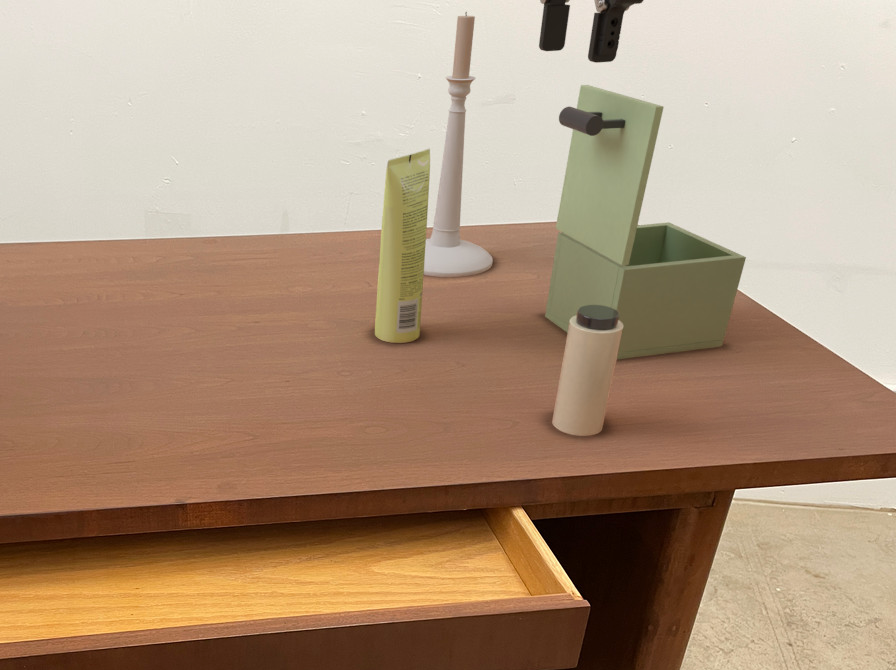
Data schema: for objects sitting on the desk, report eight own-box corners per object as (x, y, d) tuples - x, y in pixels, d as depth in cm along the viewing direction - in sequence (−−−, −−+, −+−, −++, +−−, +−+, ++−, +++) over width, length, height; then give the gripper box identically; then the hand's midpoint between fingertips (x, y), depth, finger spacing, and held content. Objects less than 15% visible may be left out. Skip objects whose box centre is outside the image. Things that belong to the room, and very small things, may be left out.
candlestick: (501, 277, 118) (535, 16, 102) (401, 278, 118) (419, 17, 103) (481, 246, 129) (509, 6, 113) (389, 247, 129) (404, 7, 113)
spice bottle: (585, 412, 86) (607, 300, 81) (611, 434, 83) (636, 318, 77) (542, 418, 86) (561, 305, 80) (567, 440, 82) (589, 323, 76)
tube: (371, 326, 105) (381, 147, 95) (416, 325, 105) (430, 146, 95) (376, 345, 100) (387, 160, 90) (423, 345, 100) (439, 159, 90)
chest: (650, 305, 109) (669, 222, 104) (721, 347, 98) (746, 257, 93) (544, 317, 106) (558, 232, 101) (605, 362, 96) (624, 269, 91)
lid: (587, 84, 93) (542, 86, 92) (664, 106, 83) (614, 108, 82) (561, 228, 101) (520, 231, 100) (628, 265, 90) (583, 268, 89)
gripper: (706, -178, 67) (660, 64, 76) (601, -163, 79) (572, 44, 88) (613, -177, 66) (577, 69, 75) (521, -162, 78) (499, 49, 86)
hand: (574, 55), depth 81 cm, fingers open, 8 cm apart
